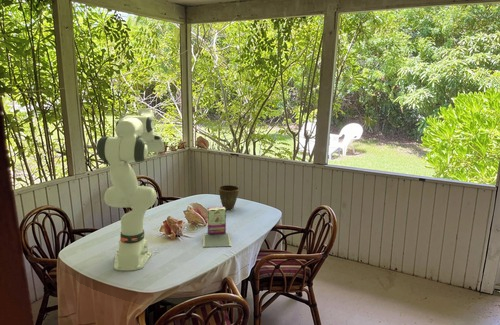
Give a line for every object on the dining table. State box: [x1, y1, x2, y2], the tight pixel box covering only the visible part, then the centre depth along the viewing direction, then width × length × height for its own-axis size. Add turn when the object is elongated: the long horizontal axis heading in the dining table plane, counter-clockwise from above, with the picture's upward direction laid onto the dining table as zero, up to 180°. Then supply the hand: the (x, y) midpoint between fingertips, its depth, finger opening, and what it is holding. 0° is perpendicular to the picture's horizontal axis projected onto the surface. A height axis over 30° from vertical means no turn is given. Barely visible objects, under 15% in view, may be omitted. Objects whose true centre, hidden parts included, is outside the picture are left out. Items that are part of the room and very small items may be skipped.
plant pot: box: [218, 184, 240, 211], centre depth 261 cm, size 15×15×16 cm
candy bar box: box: [206, 206, 227, 235], centre depth 218 cm, size 11×5×16 cm, turn 103°
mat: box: [202, 233, 232, 248], centre depth 209 cm, size 16×16×1 cm
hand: (147, 159), depth 207 cm, fingers open, 8 cm apart
